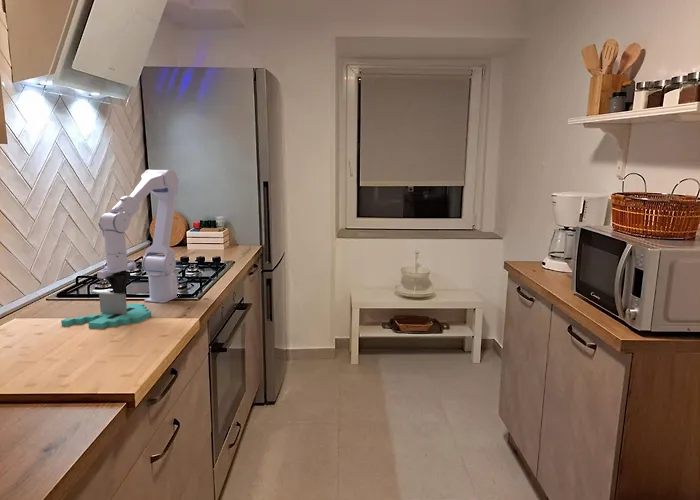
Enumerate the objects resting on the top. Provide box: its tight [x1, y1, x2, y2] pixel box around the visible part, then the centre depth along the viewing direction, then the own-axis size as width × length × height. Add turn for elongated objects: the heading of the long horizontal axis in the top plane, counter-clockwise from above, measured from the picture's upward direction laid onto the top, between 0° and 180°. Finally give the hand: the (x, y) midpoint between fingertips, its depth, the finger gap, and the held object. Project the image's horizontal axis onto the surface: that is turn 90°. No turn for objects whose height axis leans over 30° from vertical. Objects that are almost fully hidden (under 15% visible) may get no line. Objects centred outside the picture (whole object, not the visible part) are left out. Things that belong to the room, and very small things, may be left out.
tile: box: [98, 291, 128, 314], centre depth 151 cm, size 2×8×6 cm, turn 76°
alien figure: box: [60, 302, 152, 330], centre depth 152 cm, size 20×2×20 cm
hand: (119, 296), depth 153 cm, fingers closed
